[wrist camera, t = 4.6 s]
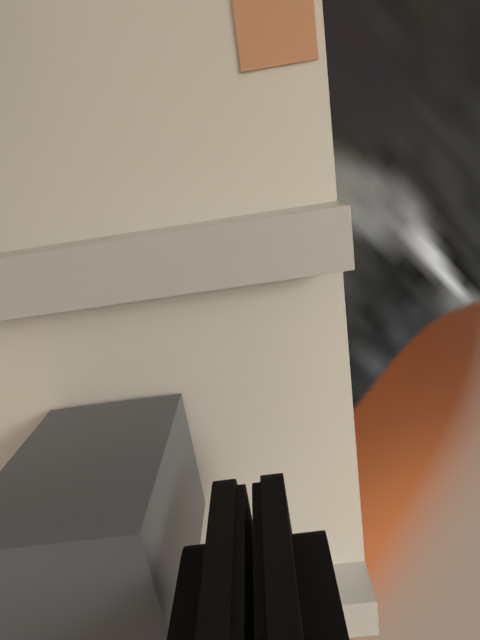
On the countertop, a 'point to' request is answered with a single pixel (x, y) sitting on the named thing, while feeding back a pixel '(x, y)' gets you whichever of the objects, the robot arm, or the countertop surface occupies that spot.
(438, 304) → the countertop surface
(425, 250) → the countertop surface
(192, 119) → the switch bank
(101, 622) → the tab
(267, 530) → the robot arm
